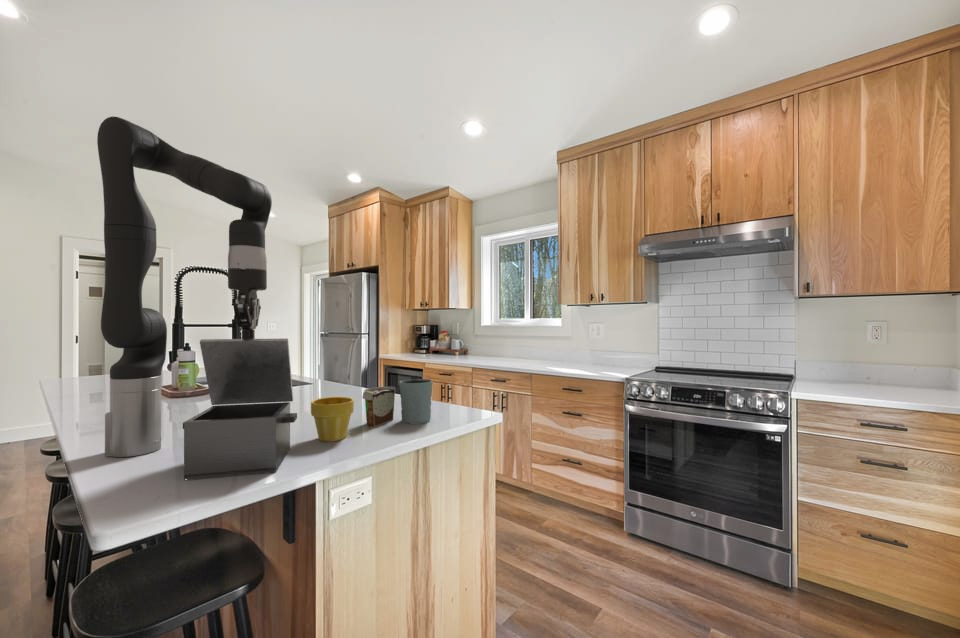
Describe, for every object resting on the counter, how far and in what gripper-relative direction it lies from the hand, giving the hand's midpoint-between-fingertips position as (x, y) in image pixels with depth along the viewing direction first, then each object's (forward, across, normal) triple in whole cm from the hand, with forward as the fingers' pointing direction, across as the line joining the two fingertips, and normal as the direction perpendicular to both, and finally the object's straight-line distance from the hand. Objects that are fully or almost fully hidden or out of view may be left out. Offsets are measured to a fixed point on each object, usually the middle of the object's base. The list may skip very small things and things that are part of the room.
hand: (248, 346), depth 93 cm
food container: (+25, -25, +28) cm, 45 cm away
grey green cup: (+25, -25, +40) cm, 53 cm away
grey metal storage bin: (+24, +4, 0) cm, 25 cm away
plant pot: (+25, -11, +17) cm, 32 cm away
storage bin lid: (+6, -1, 0) cm, 6 cm away
